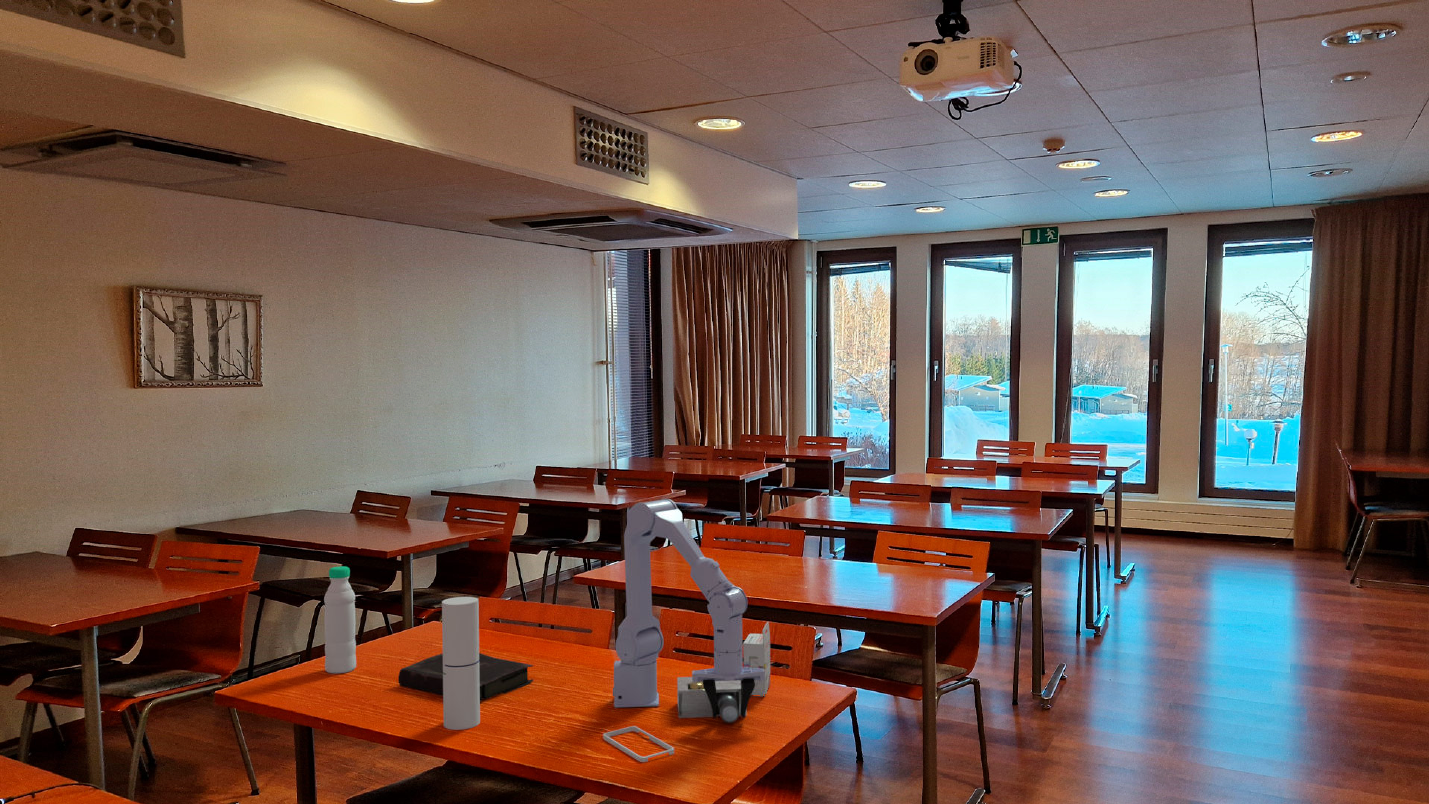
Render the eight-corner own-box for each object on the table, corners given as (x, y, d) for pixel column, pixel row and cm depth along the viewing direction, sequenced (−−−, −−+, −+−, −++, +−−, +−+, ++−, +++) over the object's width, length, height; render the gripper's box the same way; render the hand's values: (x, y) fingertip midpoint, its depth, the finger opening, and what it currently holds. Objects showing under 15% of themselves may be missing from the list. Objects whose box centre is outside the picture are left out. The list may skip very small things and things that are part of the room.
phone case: (601, 740, 181) (641, 765, 169) (601, 733, 181) (641, 758, 169) (634, 732, 186) (675, 755, 173) (634, 725, 186) (675, 748, 173)
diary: (476, 708, 201) (476, 685, 201) (398, 690, 214) (397, 668, 214) (536, 683, 217) (535, 661, 217) (459, 667, 230) (459, 647, 230)
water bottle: (362, 668, 228) (361, 566, 228) (337, 676, 222) (335, 571, 222) (344, 664, 232) (342, 563, 232) (318, 671, 226) (317, 568, 226)
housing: (678, 717, 192) (678, 690, 192) (677, 703, 201) (677, 677, 201) (746, 715, 193) (746, 688, 193) (742, 701, 202) (742, 675, 202)
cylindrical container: (460, 732, 185) (459, 606, 185) (436, 725, 189) (434, 602, 188) (487, 721, 191) (485, 599, 191) (462, 715, 195) (461, 595, 195)
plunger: (690, 694, 193) (690, 686, 193) (689, 690, 196) (689, 681, 196) (705, 694, 193) (704, 685, 193) (704, 689, 196) (704, 681, 196)
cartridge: (720, 723, 186) (720, 704, 186) (716, 703, 198) (715, 685, 198) (739, 723, 186) (739, 704, 186) (733, 702, 199) (733, 684, 199)
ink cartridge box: (749, 684, 214) (748, 619, 214) (770, 685, 213) (770, 620, 213) (743, 696, 205) (742, 629, 205) (765, 697, 204) (764, 630, 204)
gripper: (693, 655, 184) (693, 724, 184) (766, 653, 185) (767, 722, 185) (691, 646, 191) (692, 712, 191) (762, 644, 192) (762, 709, 192)
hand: (728, 716), depth 188 cm, fingers open, 5 cm apart
